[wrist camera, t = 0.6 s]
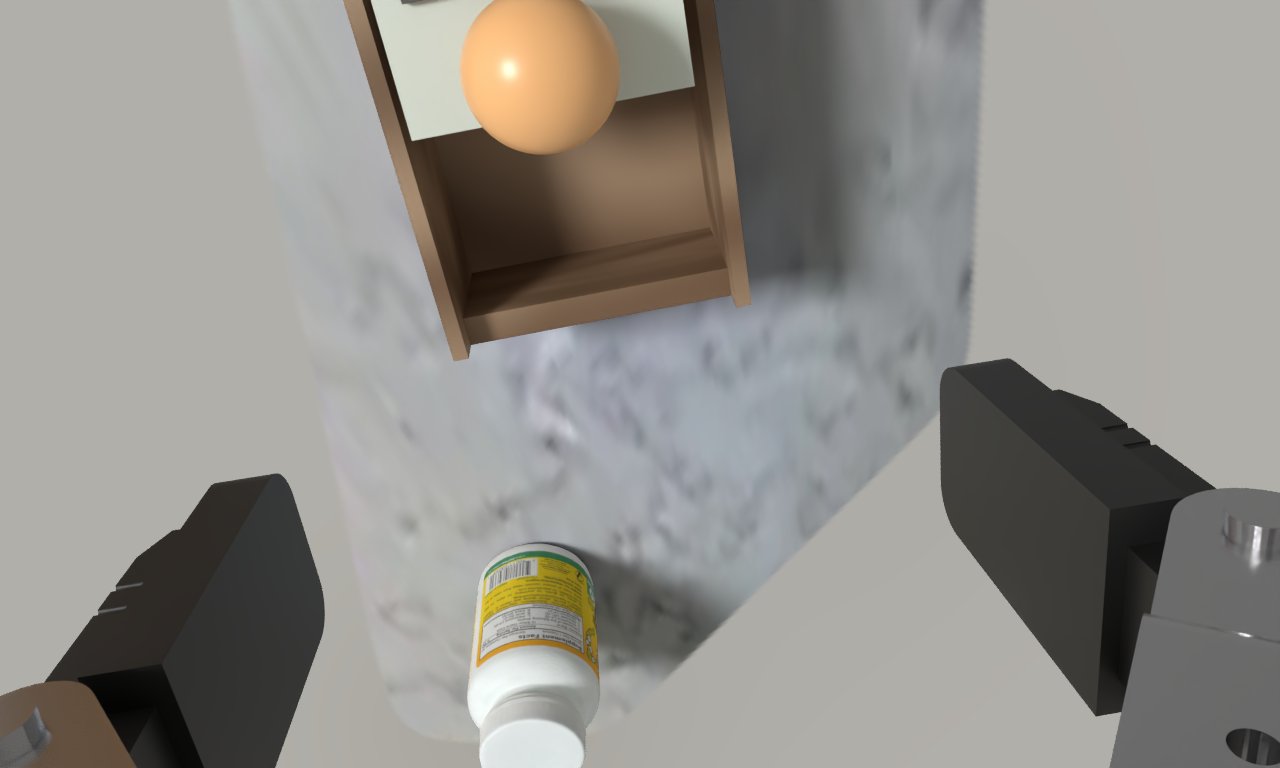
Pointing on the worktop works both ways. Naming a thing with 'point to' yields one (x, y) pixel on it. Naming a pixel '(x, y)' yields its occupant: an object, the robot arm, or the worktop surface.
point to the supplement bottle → (534, 659)
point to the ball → (540, 73)
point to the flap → (446, 8)
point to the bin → (572, 206)
